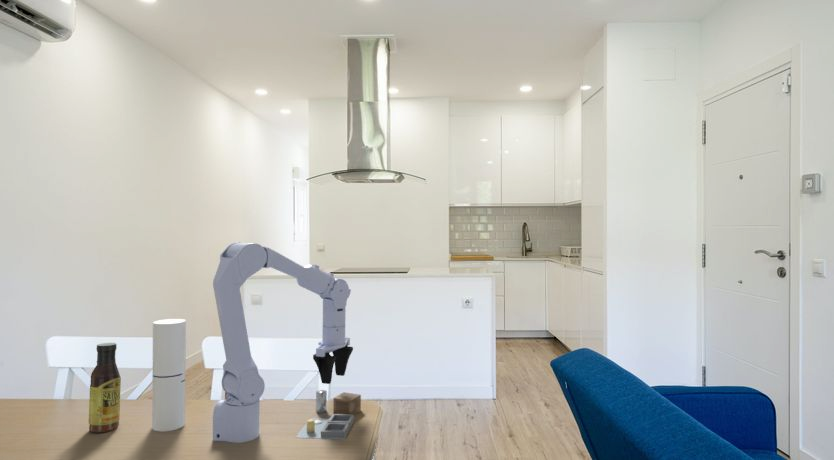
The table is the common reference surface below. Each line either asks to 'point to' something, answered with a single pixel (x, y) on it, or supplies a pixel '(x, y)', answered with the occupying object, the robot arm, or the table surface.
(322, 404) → the pin
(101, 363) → the sauce bottle
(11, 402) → the table surface
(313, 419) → the board
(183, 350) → the cylindrical container
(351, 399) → the wooden toy block
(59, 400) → the table surface
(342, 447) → the table surface
